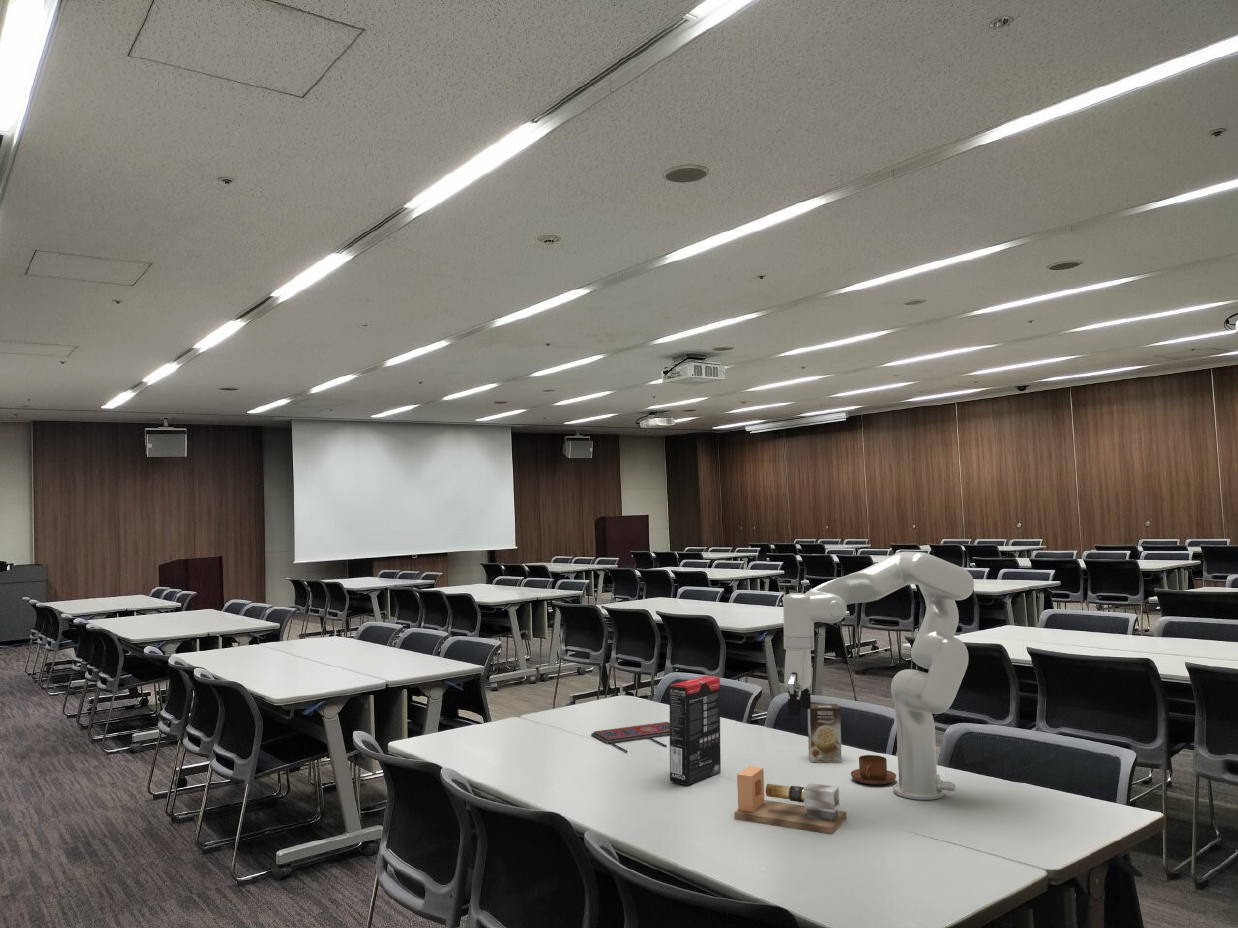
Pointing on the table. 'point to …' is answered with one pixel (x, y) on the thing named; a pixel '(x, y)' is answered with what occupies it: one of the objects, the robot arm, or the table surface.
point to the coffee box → (824, 733)
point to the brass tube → (788, 792)
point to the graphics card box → (694, 729)
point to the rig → (802, 811)
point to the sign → (633, 733)
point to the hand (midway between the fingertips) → (799, 711)
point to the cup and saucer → (873, 770)
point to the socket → (750, 789)
